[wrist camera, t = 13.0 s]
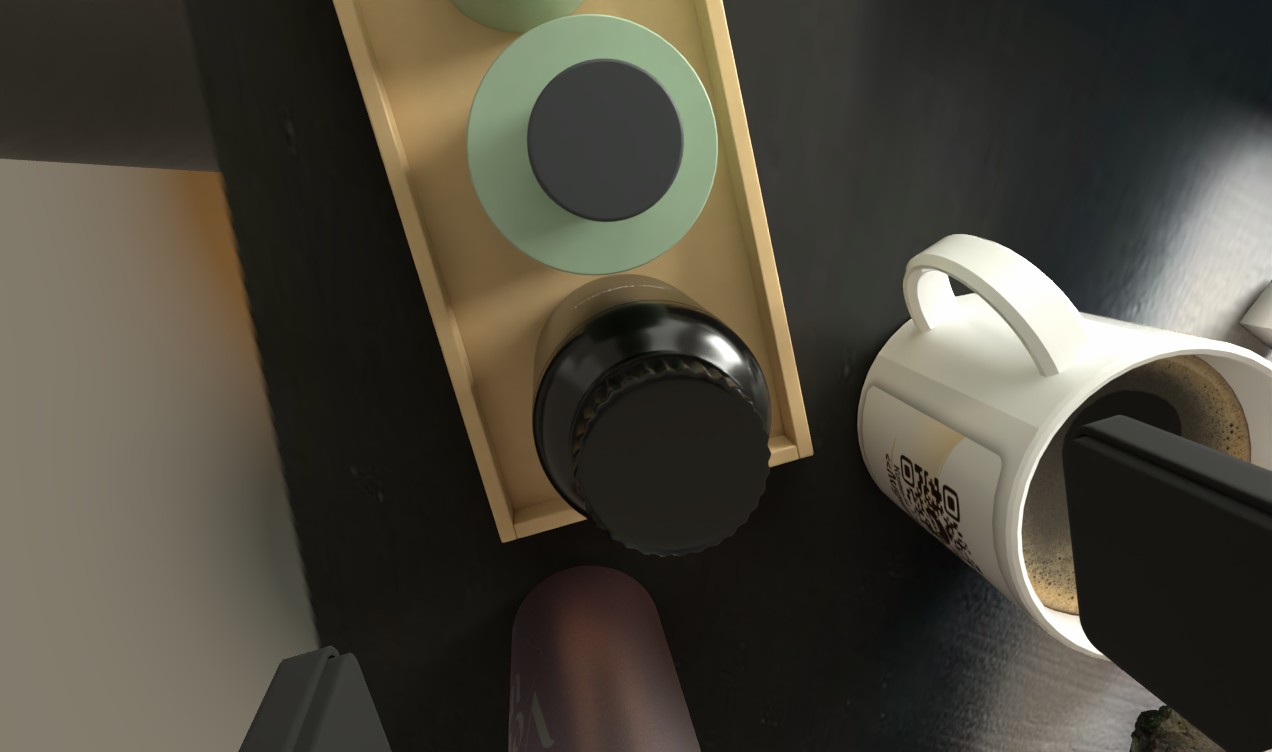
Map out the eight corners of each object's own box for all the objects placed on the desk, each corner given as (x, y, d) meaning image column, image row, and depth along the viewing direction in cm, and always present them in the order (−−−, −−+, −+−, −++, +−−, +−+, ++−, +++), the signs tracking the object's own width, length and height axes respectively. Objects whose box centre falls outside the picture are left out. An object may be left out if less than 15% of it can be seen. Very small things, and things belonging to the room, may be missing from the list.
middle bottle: (512, 266, 30) (503, 322, 17) (464, 96, 28) (415, 20, 16) (672, 225, 30) (777, 249, 18) (633, 55, 29) (717, -51, 16)
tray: (503, 521, 32) (501, 544, 30) (284, -186, 26) (264, -218, 24) (797, 439, 33) (814, 455, 31) (651, -265, 27) (661, -301, 25)
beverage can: (617, 708, 35) (682, 1078, 20) (488, 660, 34) (458, 1017, 19) (682, 589, 34) (797, 886, 19) (551, 535, 33) (571, 809, 18)
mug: (822, 517, 34) (958, 665, 23) (864, 225, 32) (1037, 241, 21) (1054, 525, 36) (1280, 667, 25) (1111, 246, 33) (1390, 272, 22)
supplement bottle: (617, 232, 30) (675, 258, 18) (747, 354, 32) (876, 449, 20) (492, 370, 30) (471, 481, 19) (627, 483, 32) (684, 649, 20)
